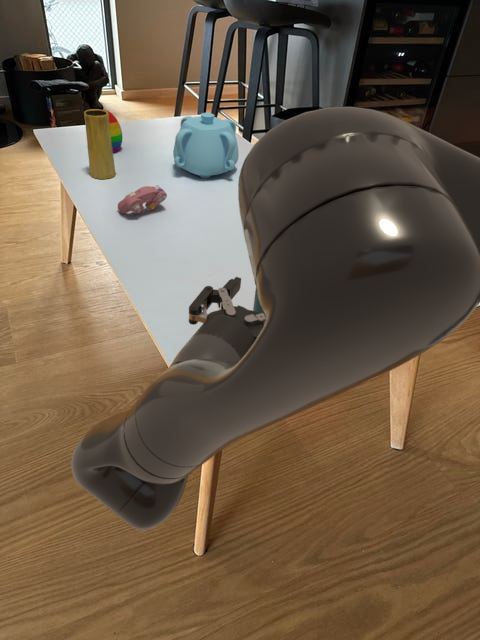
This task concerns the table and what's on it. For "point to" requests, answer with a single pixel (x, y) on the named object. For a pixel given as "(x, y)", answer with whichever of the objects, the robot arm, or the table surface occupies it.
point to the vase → (99, 144)
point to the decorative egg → (115, 132)
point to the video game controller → (142, 199)
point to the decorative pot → (206, 145)
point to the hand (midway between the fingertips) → (265, 291)
